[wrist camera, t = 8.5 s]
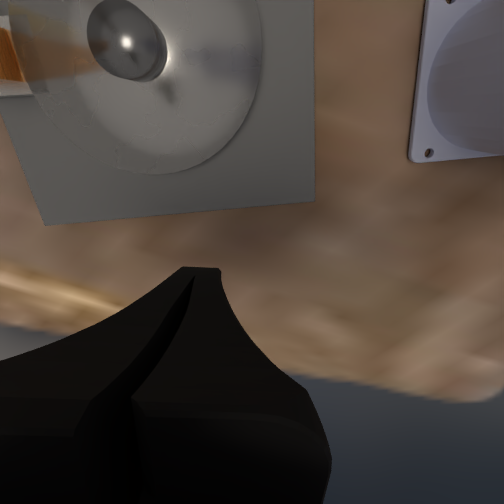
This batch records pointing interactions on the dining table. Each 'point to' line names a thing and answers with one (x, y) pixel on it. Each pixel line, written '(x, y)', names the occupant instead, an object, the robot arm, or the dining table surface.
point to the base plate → (209, 171)
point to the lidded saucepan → (136, 74)
